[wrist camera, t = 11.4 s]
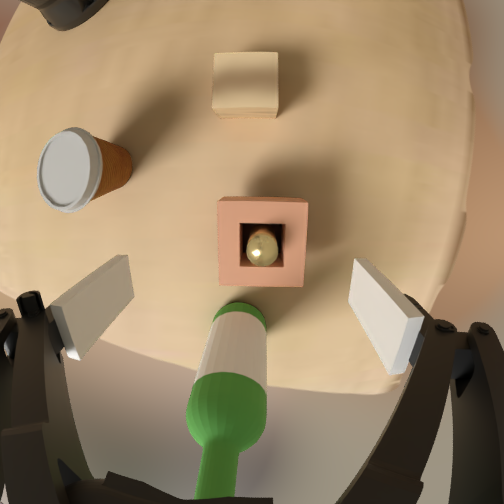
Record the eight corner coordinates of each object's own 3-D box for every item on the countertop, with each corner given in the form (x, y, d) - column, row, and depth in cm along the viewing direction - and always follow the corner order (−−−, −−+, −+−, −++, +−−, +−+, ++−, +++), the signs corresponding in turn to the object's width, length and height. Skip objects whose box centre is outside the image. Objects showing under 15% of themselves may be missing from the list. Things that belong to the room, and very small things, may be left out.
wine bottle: (273, 335, 40) (279, 533, 11) (226, 348, 41) (191, 532, 12) (255, 292, 38) (239, 512, 9) (205, 307, 39) (133, 503, 10)
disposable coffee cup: (150, 141, 32) (104, 131, 21) (133, 207, 35) (84, 225, 24) (97, 130, 32) (44, 123, 20) (83, 191, 35) (30, 203, 23)
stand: (221, 70, 29) (214, 53, 24) (275, 70, 29) (277, 52, 23) (220, 118, 31) (212, 108, 26) (275, 118, 31) (278, 107, 25)
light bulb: (235, 202, 34) (224, 214, 25) (290, 203, 34) (300, 215, 25) (235, 254, 36) (226, 284, 27) (288, 255, 36) (296, 286, 27)
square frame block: (224, 196, 31) (217, 201, 27) (301, 197, 31) (308, 202, 26) (225, 269, 34) (219, 285, 29) (297, 270, 34) (302, 286, 29)
